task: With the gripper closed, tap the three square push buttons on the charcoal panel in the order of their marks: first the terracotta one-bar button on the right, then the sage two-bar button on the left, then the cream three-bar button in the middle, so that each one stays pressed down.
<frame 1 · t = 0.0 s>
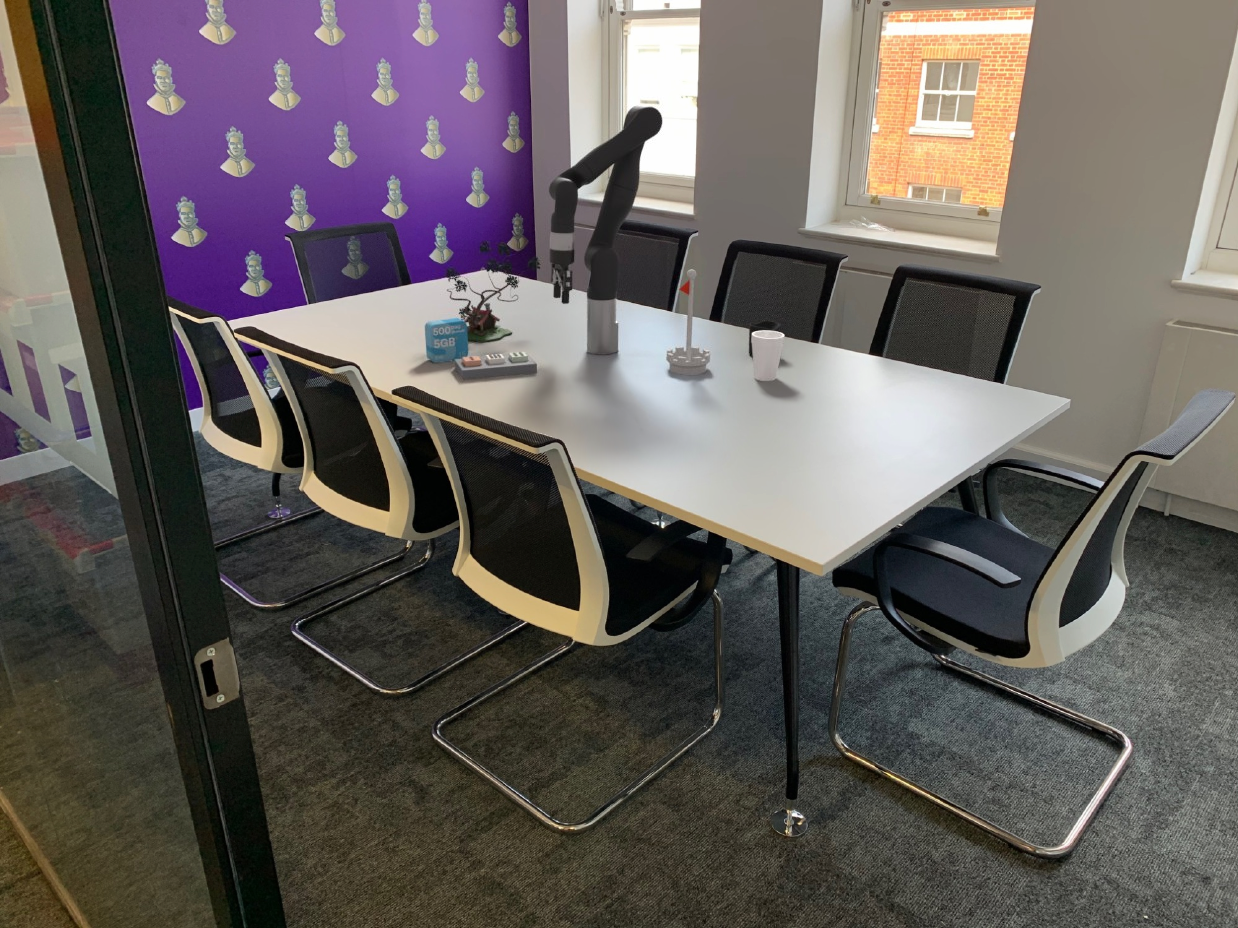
hand: (561, 300, 290), 17 cm above the table, tool pointing down, fingers open, 8 cm apart
button three: (495, 361, 279), point 3 cm above the table, slide at 0.0 cm
data package: (447, 360, 291), on the table
bonsai tree: (497, 336, 318), on the table
button one: (471, 363, 276), point 3 cm above the table, slide at 0.0 cm
flag stand: (687, 370, 284), on the table
button two: (518, 359, 281), point 3 cm above the table, slide at 0.0 cm
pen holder: (762, 355, 299), on the table
button panel: (495, 371, 280), on the table
foam cup: (764, 378, 277), on the table
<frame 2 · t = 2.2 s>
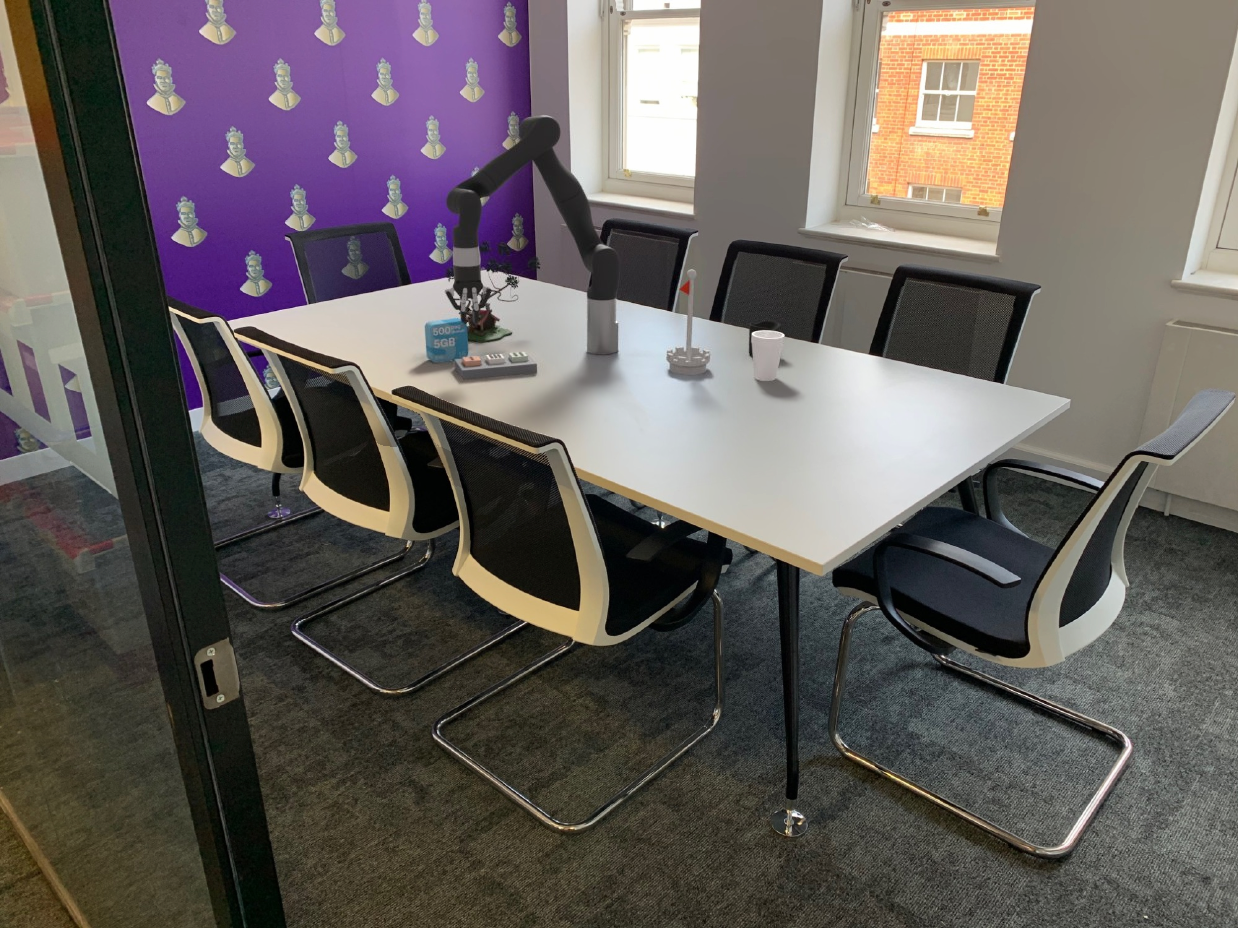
hand: (469, 323, 272), 15 cm above the table, tool pointing down, fingers closed
nothing on the table moved.
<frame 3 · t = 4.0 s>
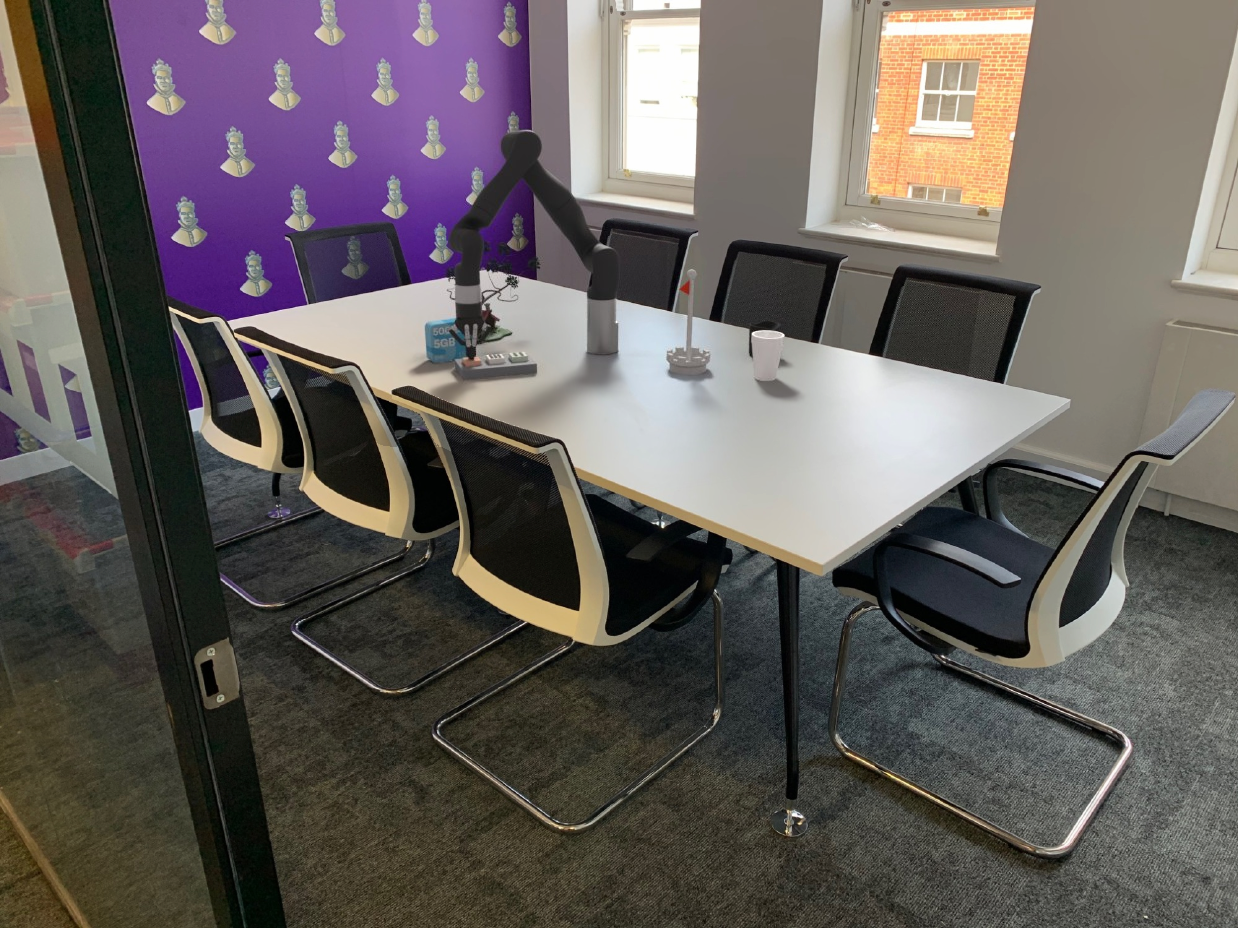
hand: (471, 358, 276), 5 cm above the table, tool pointing down, fingers closed
button one: (471, 363, 277), point 3 cm above the table, slide at 0.2 cm, touching gripper
everything else where it was.
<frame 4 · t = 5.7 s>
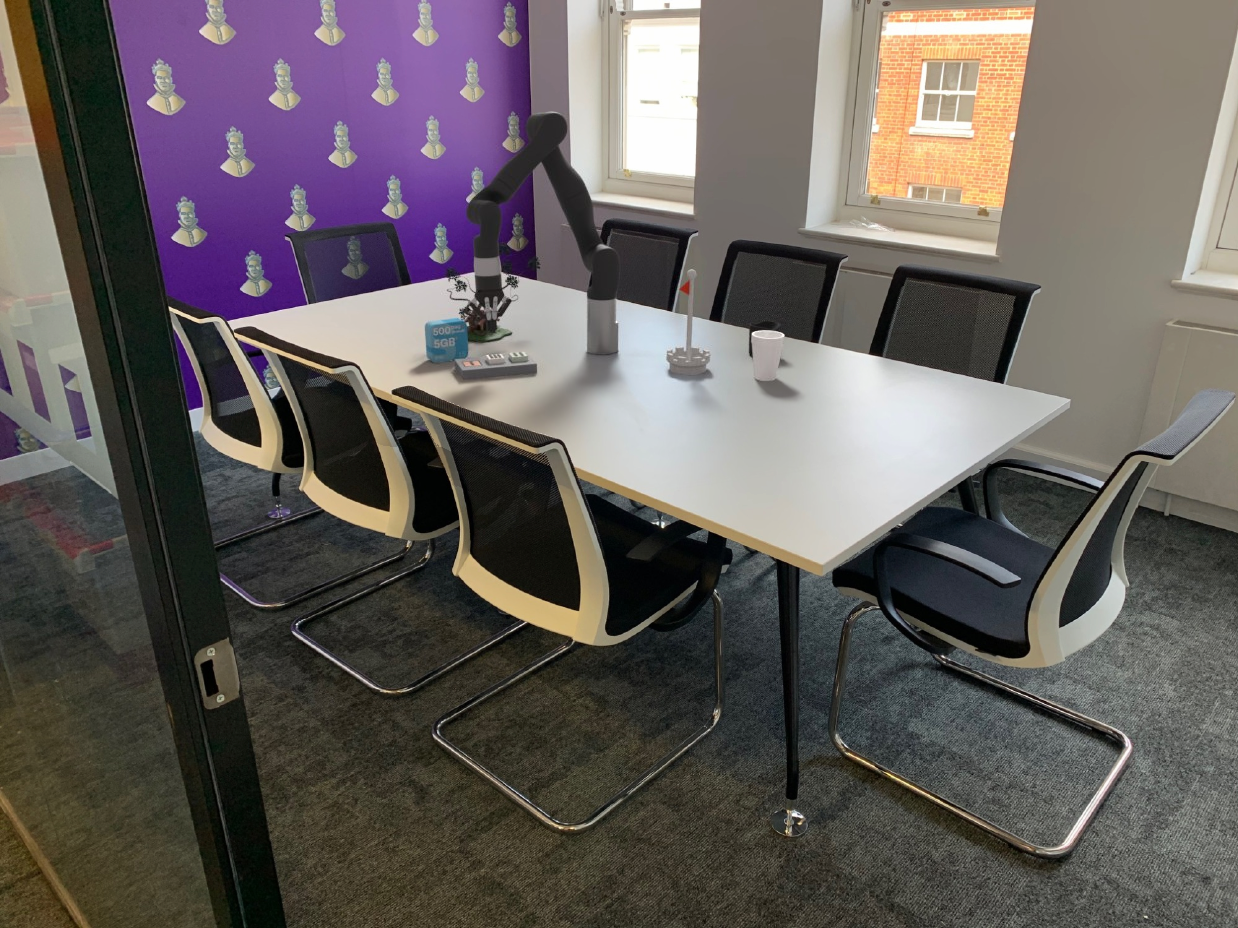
hand: (491, 331, 275), 12 cm above the table, tool pointing down, fingers closed
button one: (472, 368, 277), point 2 cm above the table, slide at 1.5 cm
everything else where it was.
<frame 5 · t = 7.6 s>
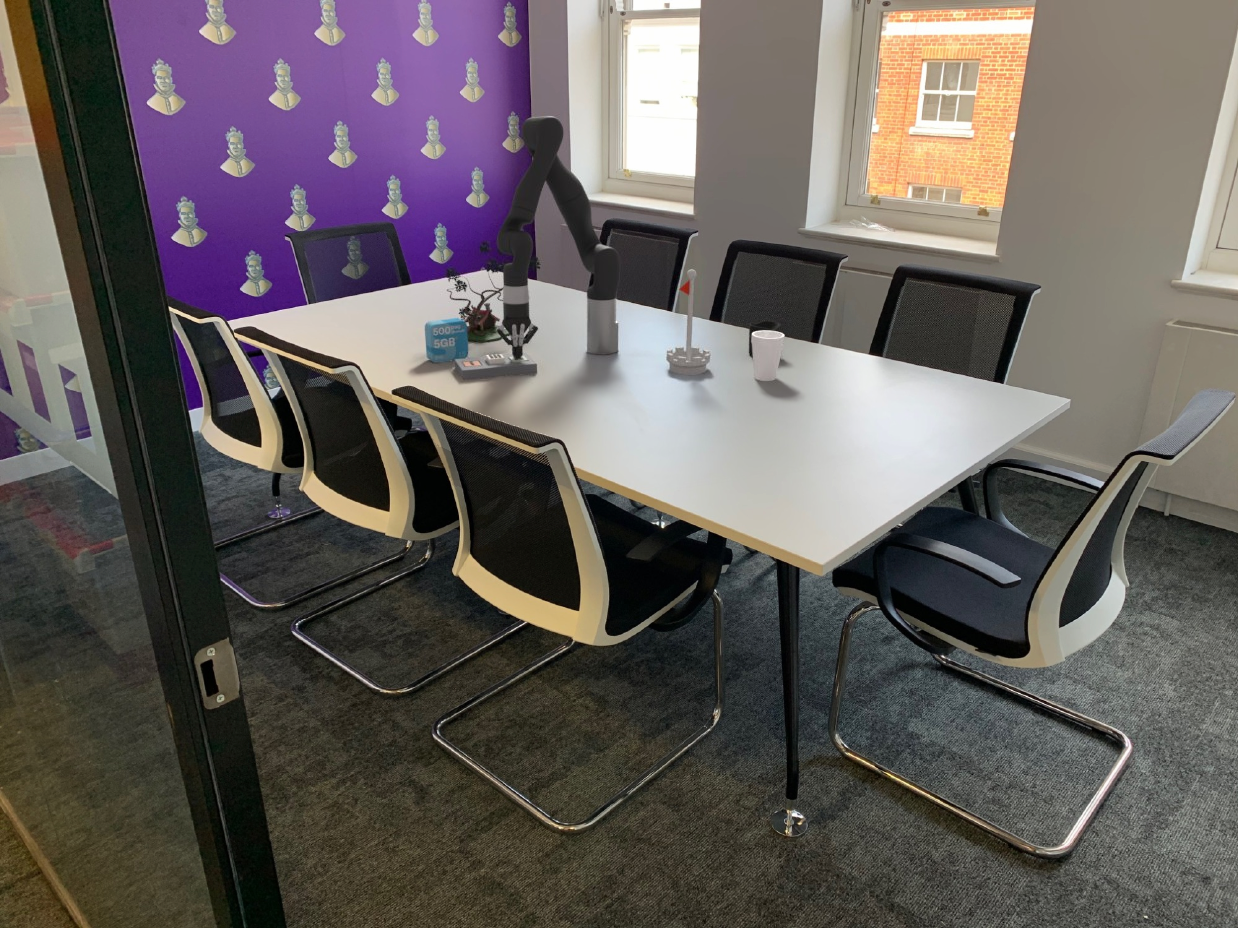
hand: (517, 357, 281), 3 cm above the table, tool pointing down, fingers closed
button two: (518, 363, 281), point 2 cm above the table, slide at 1.2 cm, touching gripper
everything else where it was.
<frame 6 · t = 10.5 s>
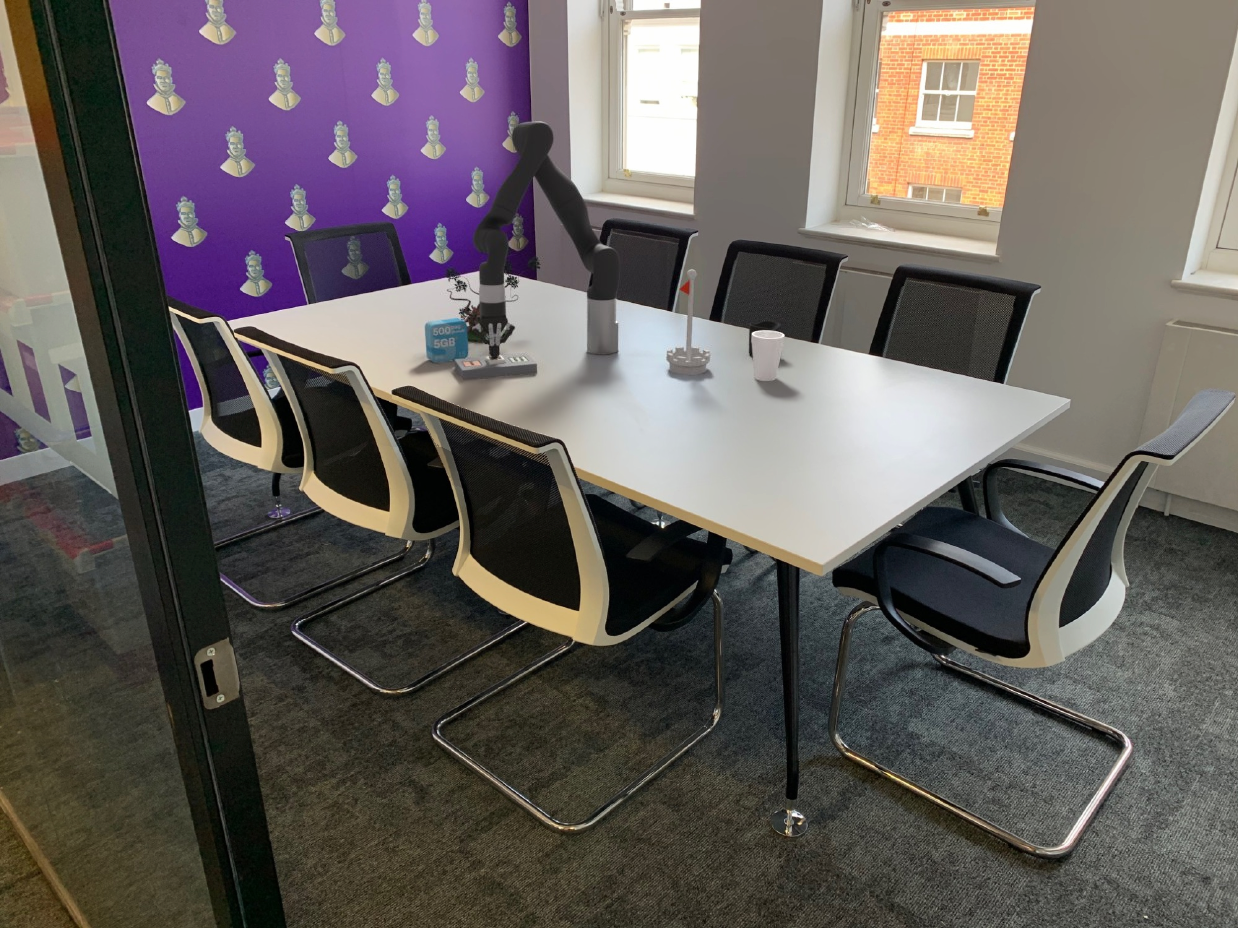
hand: (494, 357, 278), 4 cm above the table, tool pointing down, fingers closed
button three: (495, 362, 279), point 3 cm above the table, slide at 0.4 cm, touching gripper
button two: (518, 364, 282), point 2 cm above the table, slide at 1.5 cm
everything else where it was.
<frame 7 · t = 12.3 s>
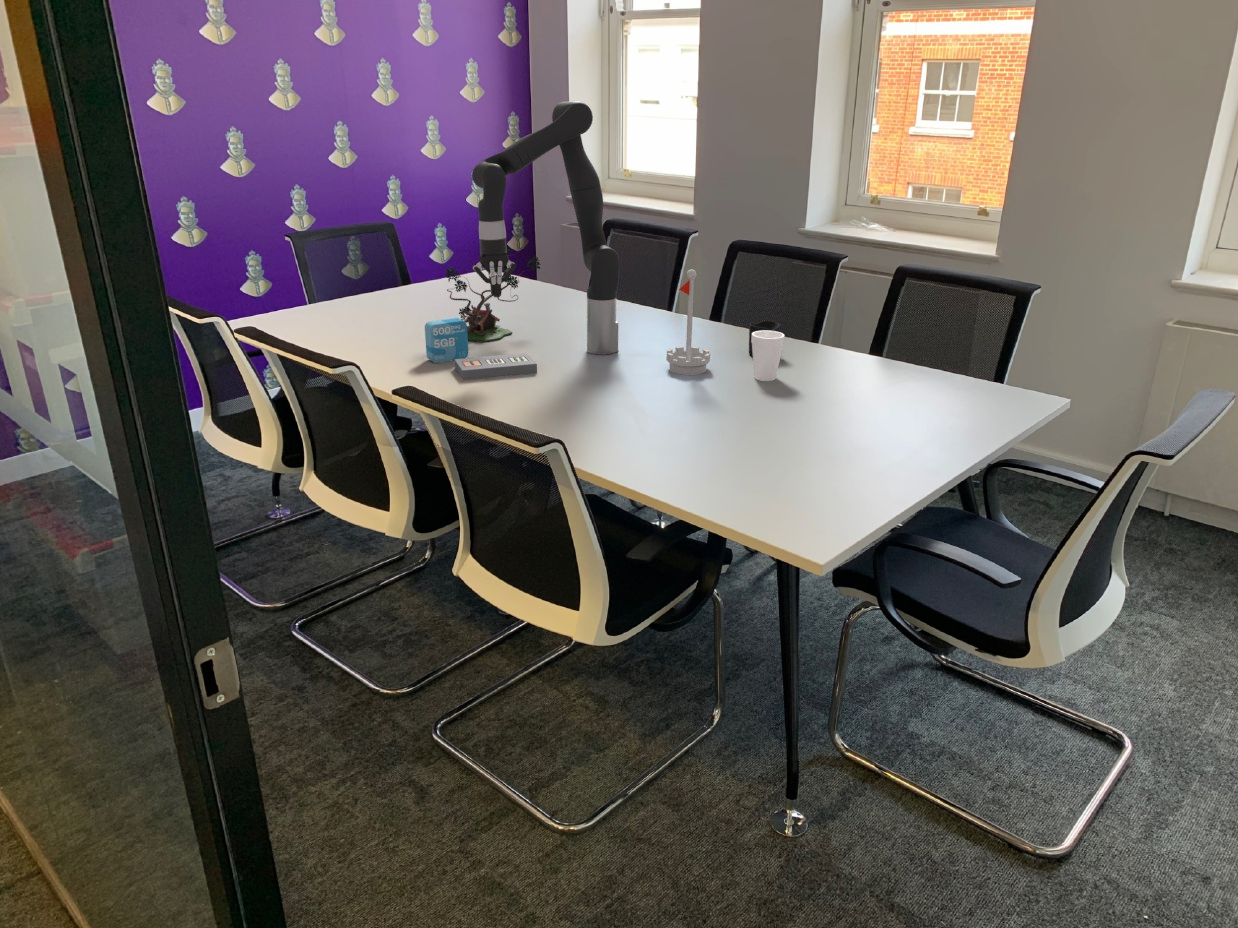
hand: (496, 296, 275), 21 cm above the table, tool pointing down, fingers closed
button three: (495, 366, 279), point 2 cm above the table, slide at 1.5 cm
everything else where it was.
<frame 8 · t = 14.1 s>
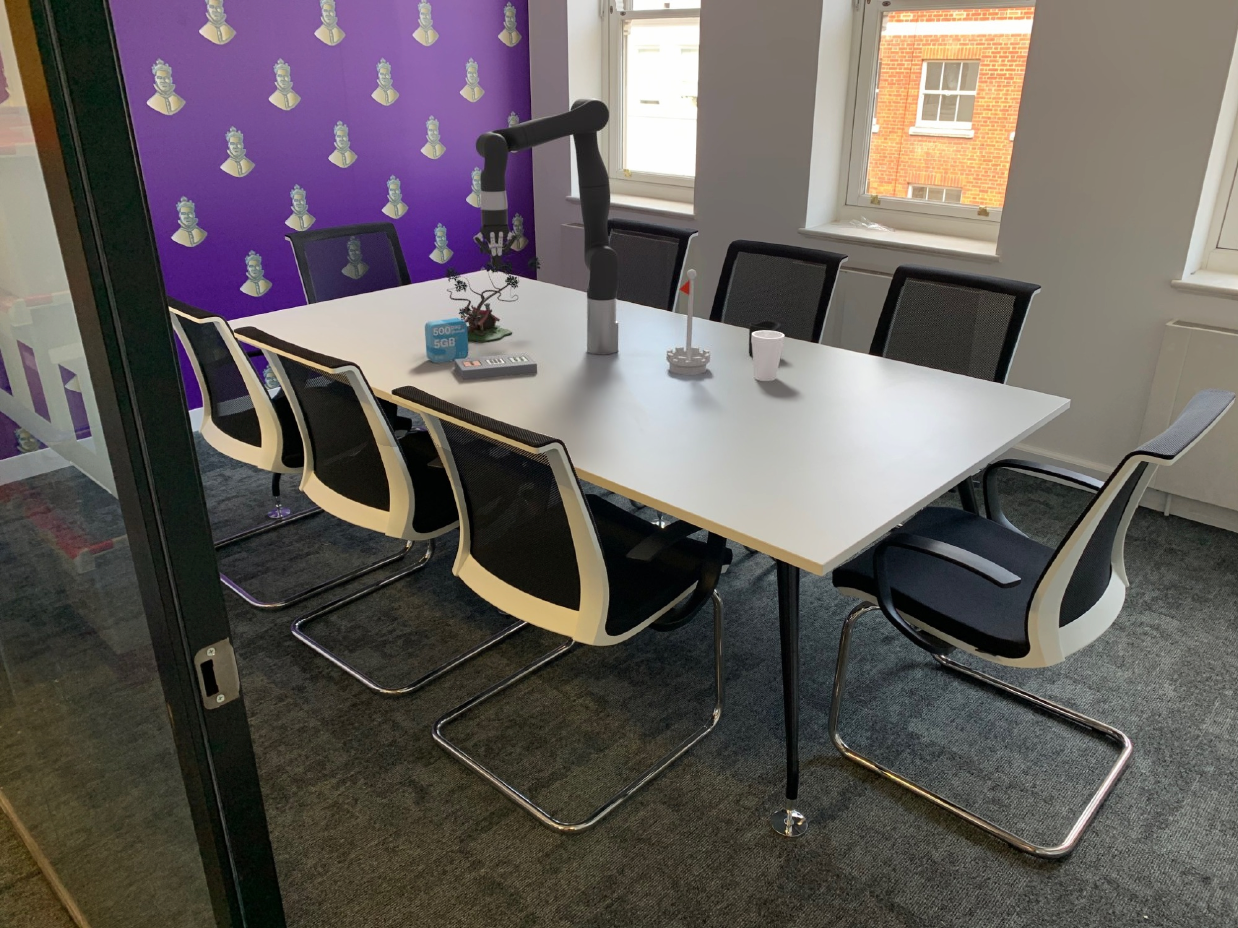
hand: (496, 268, 276), 29 cm above the table, tool pointing down, fingers closed
nothing on the table moved.
at the end: button one slide at 1.5 cm; button two slide at 1.5 cm; button three slide at 1.5 cm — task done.
